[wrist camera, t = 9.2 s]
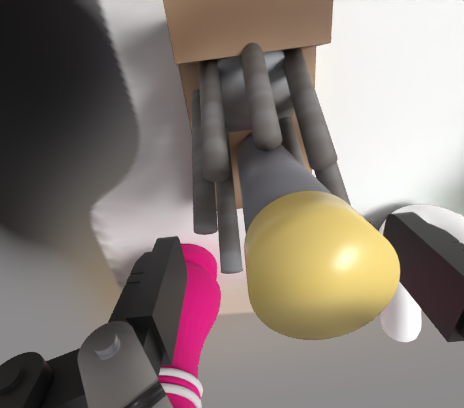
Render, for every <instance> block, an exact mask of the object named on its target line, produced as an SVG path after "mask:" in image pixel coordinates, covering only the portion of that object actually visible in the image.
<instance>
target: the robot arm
mask: <svg viewBox="0 0 464 408" xmlns="http://www.w3.org/2000/svg"><path fill="white" fill-rule="evenodd" d="M383 236H384V237H385V238H386V239H387V240H388V241H389V242H390V244H391V245H392V246H393V248H394V250H395V252H396V254H397V256H398V260H399V263H400V279H399V282H400V283H401V284H402V285H403V287H404V288H405V289H406V290H407V292H408V293H409V294H410V295H411V297H412V298H413V299H414V300H415V302H416V303H417V304H418V305H419V307H420V308H421V309H422V310H423V312H424V313H425V314H426V315H427V317H428V318H429V319H430V320H431V322H432V323H433V324H434V325H435V327H436V328H437V329H438V330H439V332H440V333H441V334H442V335H443V337H444V338H445V339H446V341H447V342H455V341H464V244H463V243H460V242H459V240H458V239H457V238H455V237H454V236H453V235H451V234H450V233H449V232H447V231H446V230H443V229H441V228H439V227H437V226H435V225H432V224H430V223H427V222H426V221H425V220H423V219H422V218H421V217H420V216H418V215H417V214H416V213H414V212H404V213H394V214H389V215H388V216H387V218H386V222H385V226H384V231H383ZM186 285H187V266H186V262H185V259H184V255H183V251H182V248H181V244H180V240H179V238H178V237H177V236H175V237H166V238H158V239H157V240H156V243H155V245H154V248H153V250H152V252H147V253H144V254H143V255H142V256H141V257H140V258H139V259H138V260H137V262H136V263H135V265H134V267H133V269H132V271H131V276H129V278H128V280H127V282H126V285H125V287H124V289H123V291H122V293H121V295H120V298H119V300H118V302H117V304H116V306H115V308H114V311H113V313H112V315H111V317H110V319H109V322H108V323H107V324H104V325H102V326H101V327H99V328H97V329H96V330H95V331H93V332H92V333H91V334H90V335H89V336H88V337H87V338H86V340H85V341H84V342H83V344H82V345H81V347H80V348H79V349H77V350H75V351H72V352H69V353H67V354H64V355H62V356H59V357H56V358H54V359H51V360H49V361H45V360H44V358H43V357H42V356H41V355H40V354H38V353H35V352H27V353H23V354H20V355H17V356H15V357H13V358H11V359H10V360H8V361H6V362H5V363H3V364H2V365H1V366H0V408H173V406H172V404H171V402H170V400H169V398H168V396H167V394H166V392H165V391H164V389H163V387H162V385H161V383H160V381H159V379H158V377H159V373H160V368H161V366H166V365H172V363H173V357H174V352H175V346H176V341H177V335H178V330H179V324H180V318H181V313H182V307H183V302H184V296H185V291H186Z"/></svg>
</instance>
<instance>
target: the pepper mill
mask: <svg viewBox="0 0 464 408" xmlns="http://www.w3.org/2000/svg"><path fill="white" fill-rule="evenodd" d="M181 248H182V251H183V255H184V259H185V262H186V266H187V285H186V291H185V296H184V302H183V307H182V313H181V318H180V324H179V330H178V335H177V341H176V346H175V352H174V357H173V363H172V365H166V366H161V368H160V373H159V377H158V379H159V381H160V383H161V385H162V387H163V389H164V391H165V392H166V394H167V396H168V398H169V400H170V402H171V404H172V406H173V408H201V407H202V405H201V401H200V399H201V396H202V393H203V388H202V385H201V383H200V382H199V380H198V364H199V358H200V353H201V350H202V347H203V344H204V341H205V339H206V337H207V335H208V333H209V331H210V329H211V328H212V325H213V324H214V322H215V320H216V317H217V314H218V312H219V307H220V300H221V291H220V287H219V285H218V283H217V281H216V278H217V263H216V260H215V258H214V257H213V255H212V254H211V253H210V252H209V251H207V250H206V249H205V248H202V247H200V246H197V245H191V244H182V245H181Z"/></svg>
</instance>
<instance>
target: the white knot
mask: <svg viewBox="0 0 464 408" xmlns="http://www.w3.org/2000/svg"><path fill="white" fill-rule="evenodd" d="M404 212H414V213H416V214H417V215H418V216H420V217H421V218H422V219H423V220H425V221H426V222H427V223H430V224H432V225H435V226H437V227H439V228H441V229H443V230H446V231H447V232H449V233H450V234H451V235H453V236H454V237H455V238H457V239H458V240H459V242H460V243H463V244H464V217H463V216H462V215H459V214H457V213H455V212H453V211H451V210H448V209H445V208H442V207H438V206H433V205H424V204H422V205H410V206H406V207H402V208H399V209H397V210H395V211H394V212H392V213H391V214H394V213H404ZM385 222H386V220H385V221H384V222H383V224H382V225H381V227H380V229H379V232H380V233H381V234H382V235H383V231H384V226H385ZM421 310H422V309H421V308H420V307H419V305H418V304H417V303H416V302H415V300H414V299H413V298H412V297H411V295H410V294H409V293H408V292H407V290H406V289H405V288H404V287H403V285H402V284H401V283H400V282H399V283H398V287H397V289H396V292H395V294H394V296H393V298H392V299H391V301H390V303H389V304H388V305H387V306H386V308H385V309H384V310H383V311H382V312H381V313H380V315H381V326H382V327H383V329H384V330H385V332H386V334H387V335H389V336H390V337H391V338H393V339H394V340H396V341H402V342H409V341H412V340H414V339H416V337H417V336H418V334H419V332H420V330H421Z"/></svg>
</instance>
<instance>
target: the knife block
mask: <svg viewBox="0 0 464 408" xmlns="http://www.w3.org/2000/svg"><path fill="white" fill-rule="evenodd" d="M163 3H164V8H165V13H166V18H167V23H168V29H169V34H170V39H171V44H172V49H173V54H174V59H175V64H178V65H179V70H180V75H181V80H182V85H183V91H184V96H185V101H186V106H187V111H188V117H189V122H190V127H191V132H192V163H193V218H194V232H195V233H197V234H202V235H207V234H212V233H215V232H217V230H218V232H219V247H220V263H221V273H225V274H231V273H238V272H241V271H243V269H242V260H241V250H240V240H239V230H238V220H237V210H236V209H240V208H243V206H242V197H241V189H240V181H239V172H238V164H237V153H238V150H239V147H240V146H241V144H242V143H243V142H244V141H245V140H246V139H247V138H249V137H250V136H253V141H254V146H255V148H257V149H258V150H261V151H269V150H273V149H275V148H277V147H278V146H279V145H280V144H281V145H282V146H283V147H284V148H285V149H286V150H287V151H288V152H290V153H291V154H292V155H293V156H294V157H295V158H296V159H297V160H298V161H299V162H300V163H301V164H302V165H303V166H304V167H305V168H306V169H307V170H308V171H309V172H310V173H311V174H312V169H313V170H314V171H315V175H316V178H317V180H318V181H319V182H320V183H322V184H323V185H324V186H325V187H326V188H327V189H328V190H329V191H330V192H331V193H332V194H333V195H335V196H337V197H339V198H341V199H343V200H344V201H345V202H347V203H348V204H349V205H350V202H349V199H348V196H347V193H346V190H345V187H344V183H343V180H342V177H341V174H340V171H339V168H338V165H337V162H336V161H337V155H336V152H335V149H334V146H333V143H332V140H331V137H330V134H329V131H328V128H327V125H326V122H325V119H324V116H323V113H322V110H321V107H320V104H319V101H318V98H317V95H316V92H315V64H316V46H319V45H324V44H328V43H331V28H332V11H333V0H163ZM350 206H351V205H350ZM217 216H218V227H217Z"/></svg>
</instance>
